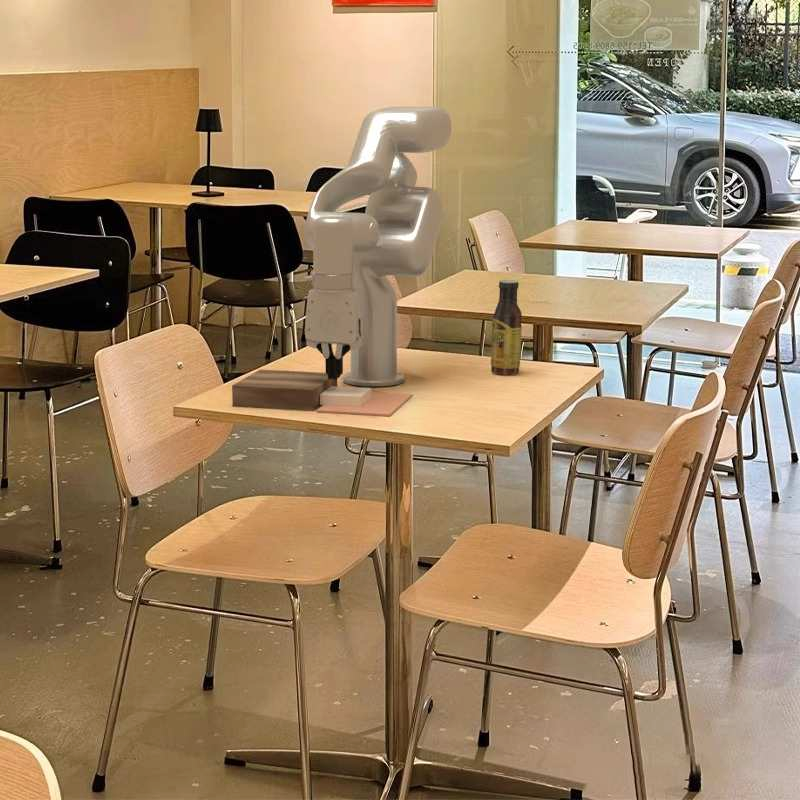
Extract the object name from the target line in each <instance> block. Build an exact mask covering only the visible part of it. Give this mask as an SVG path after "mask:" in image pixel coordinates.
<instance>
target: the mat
mask: <svg viewBox="0 0 800 800" xmlns="http://www.w3.org/2000/svg"><path fill="white" fill-rule="evenodd" d="M412 397H413V394H412V393H396V392H395V393H394V392H392V393H391V392H380V391H379V392H378V391H376V392H375V391H371V399H370V400H369V401H367V402H366V403H365V404H364V405H363V406H362V407H349V406H330V405H321V406H319V407H318V408H317V409H316V412H317V413H323V414H325V413H326V414H338V413H339V415H340V414H343V415H359V416H372V417H376V416H377V417H391V416H392V415H393V414H394V413H395V412H397V411H398V410H399V409H401V407H402V406H403V405H405V403H407V402H408V401H409V400H410V399H411V398H412Z"/></svg>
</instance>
